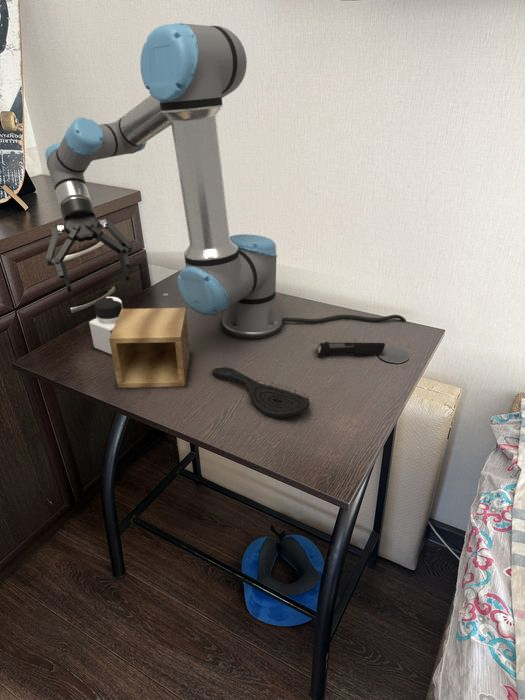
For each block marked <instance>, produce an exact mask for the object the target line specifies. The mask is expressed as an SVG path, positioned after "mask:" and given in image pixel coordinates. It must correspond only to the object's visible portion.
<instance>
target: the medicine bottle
mask: <svg viewBox="0 0 525 700" xmlns="http://www.w3.org/2000/svg"><path fill="white" fill-rule="evenodd" d="M93 306H94V309H95V316H96V318H94V319H91V320H90V321H88V324H89V329H90V334H91V339H92V344H93V348H95V349H96V350H99V351H102V352H104V353H107V354H109V355H112V352H111V346H110V341H109V338H110V335H111V333H112V331H113V328H114V326H115V324H116V321H117V319H118V317H119V314H120V312H121V310H122V309H124V306H123V301H122V300H121V299H120V298H119V297H116V296H105V297H104V296H103V297H102V298H99V299H97V300H95V302H94V305H93Z"/></svg>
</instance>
